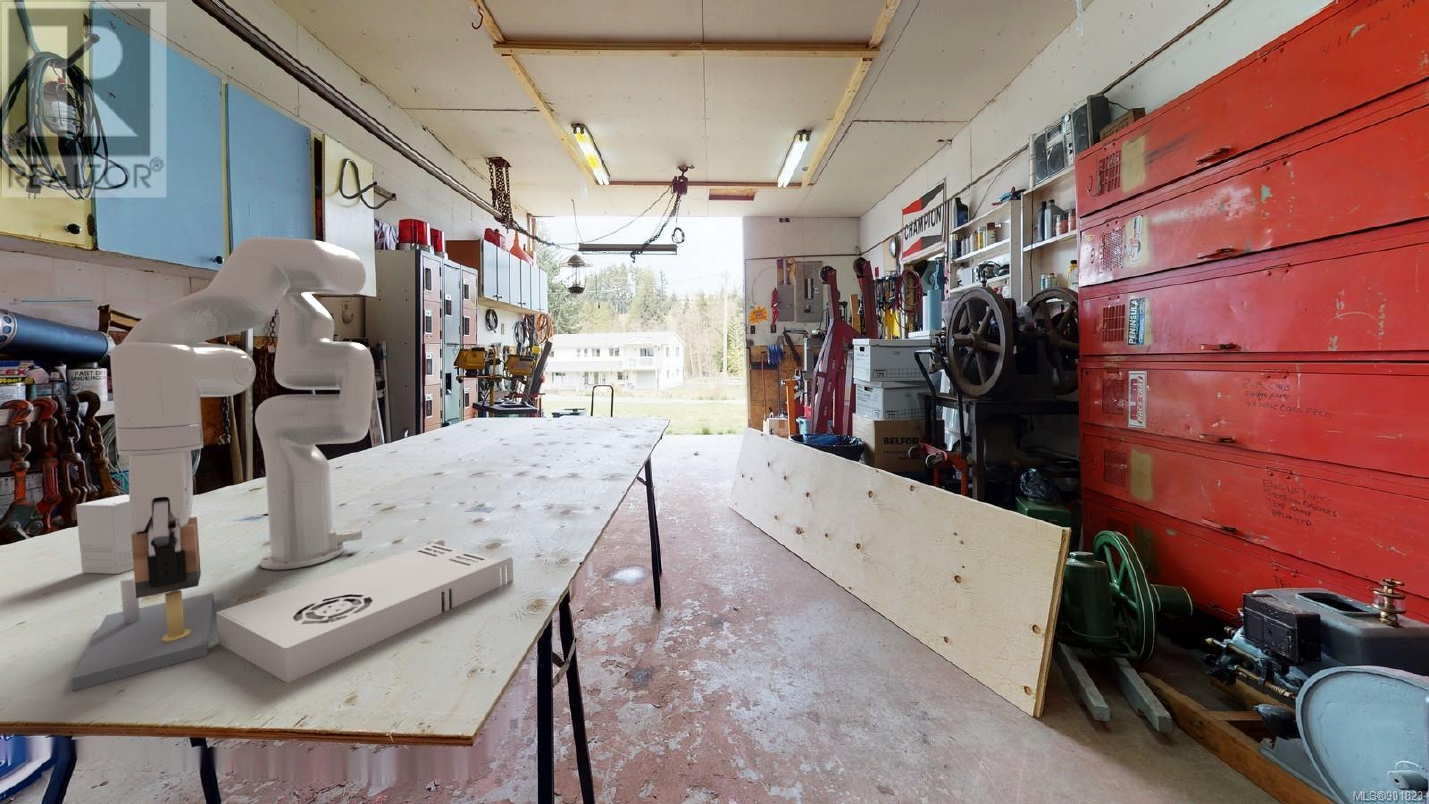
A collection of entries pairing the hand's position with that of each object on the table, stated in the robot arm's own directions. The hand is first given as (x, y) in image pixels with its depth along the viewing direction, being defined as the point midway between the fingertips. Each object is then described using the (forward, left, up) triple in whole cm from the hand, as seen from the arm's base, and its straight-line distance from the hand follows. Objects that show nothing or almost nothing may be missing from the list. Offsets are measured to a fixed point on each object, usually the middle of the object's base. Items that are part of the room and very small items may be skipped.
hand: (171, 575), depth 67 cm
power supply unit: (-23, +5, -11) cm, 26 cm away
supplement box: (+10, -46, -10) cm, 48 cm away
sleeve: (0, 0, -1) cm, 1 cm away
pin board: (+2, -5, -10) cm, 11 cm away
